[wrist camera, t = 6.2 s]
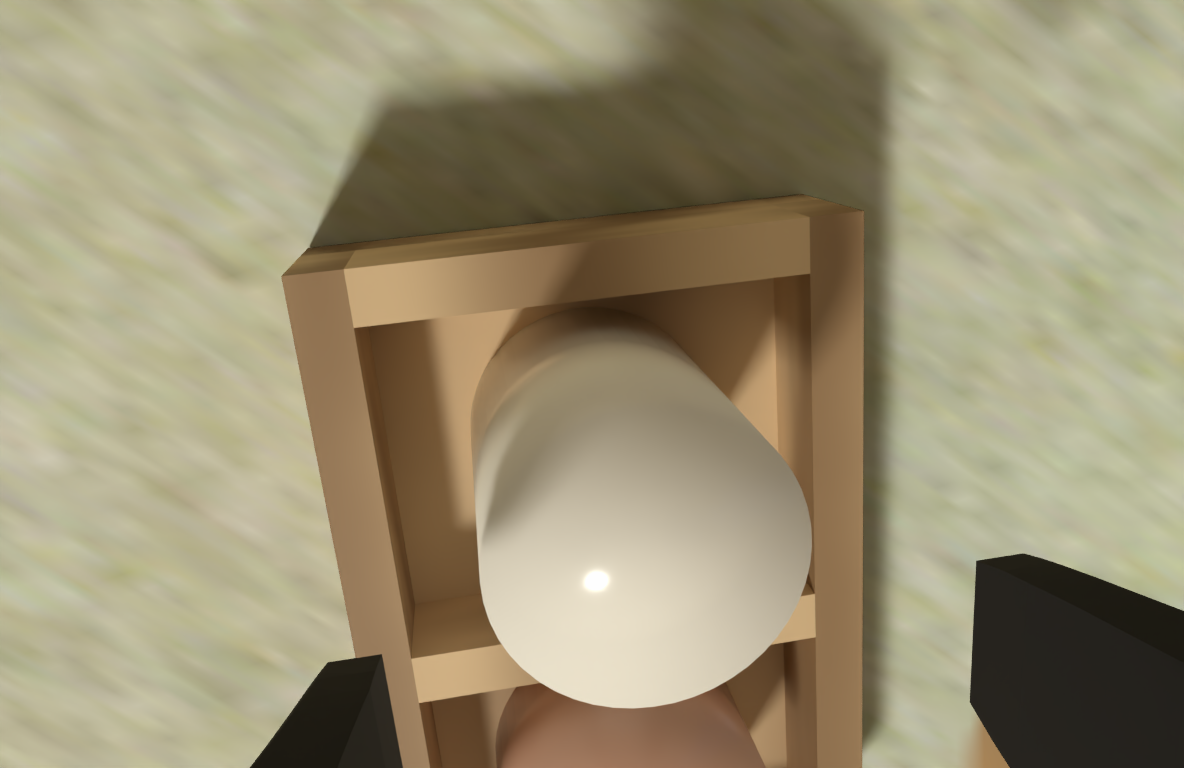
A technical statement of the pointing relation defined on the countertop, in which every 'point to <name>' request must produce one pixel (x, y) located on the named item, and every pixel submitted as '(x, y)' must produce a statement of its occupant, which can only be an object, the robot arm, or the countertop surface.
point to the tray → (444, 455)
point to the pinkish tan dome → (622, 733)
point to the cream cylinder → (628, 514)
